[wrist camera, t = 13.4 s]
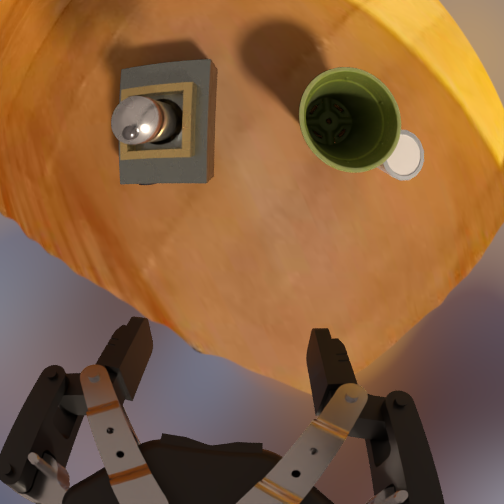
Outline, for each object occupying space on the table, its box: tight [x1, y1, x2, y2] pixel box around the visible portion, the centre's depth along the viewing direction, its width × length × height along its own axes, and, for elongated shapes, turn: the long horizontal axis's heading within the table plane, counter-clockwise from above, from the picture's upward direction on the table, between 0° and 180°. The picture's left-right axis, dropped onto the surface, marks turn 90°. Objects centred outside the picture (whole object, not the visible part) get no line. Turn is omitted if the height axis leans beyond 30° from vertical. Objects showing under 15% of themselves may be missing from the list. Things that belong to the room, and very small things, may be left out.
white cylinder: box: [377, 130, 424, 180], centre depth 34 cm, size 7×7×7 cm
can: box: [111, 96, 178, 145], centre depth 26 cm, size 5×5×9 cm
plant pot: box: [299, 67, 401, 173], centre depth 31 cm, size 12×12×11 cm
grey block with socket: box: [119, 59, 217, 185], centre depth 32 cm, size 16×12×8 cm
